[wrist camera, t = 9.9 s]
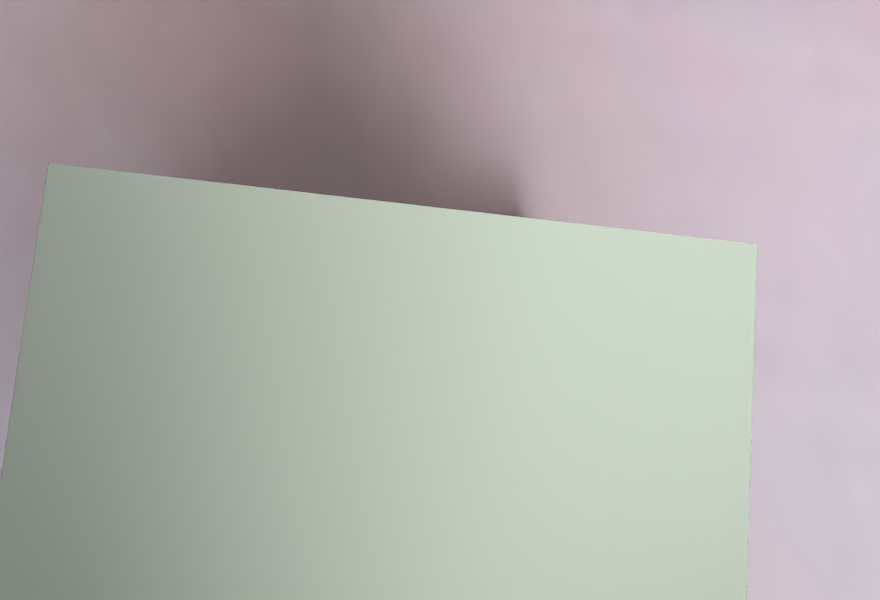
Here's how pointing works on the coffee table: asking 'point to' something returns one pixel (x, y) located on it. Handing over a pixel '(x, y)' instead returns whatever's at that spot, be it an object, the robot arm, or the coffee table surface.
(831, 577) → the coffee table surface
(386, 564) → the column
